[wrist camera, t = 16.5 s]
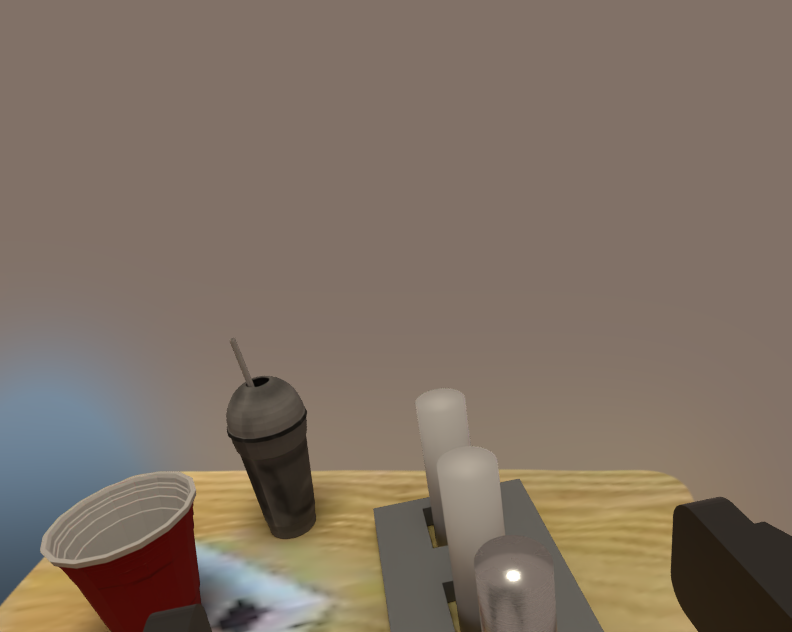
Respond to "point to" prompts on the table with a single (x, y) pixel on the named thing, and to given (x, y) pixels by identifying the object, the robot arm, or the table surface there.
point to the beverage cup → (273, 449)
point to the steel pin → (515, 585)
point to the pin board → (459, 530)
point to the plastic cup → (130, 548)
